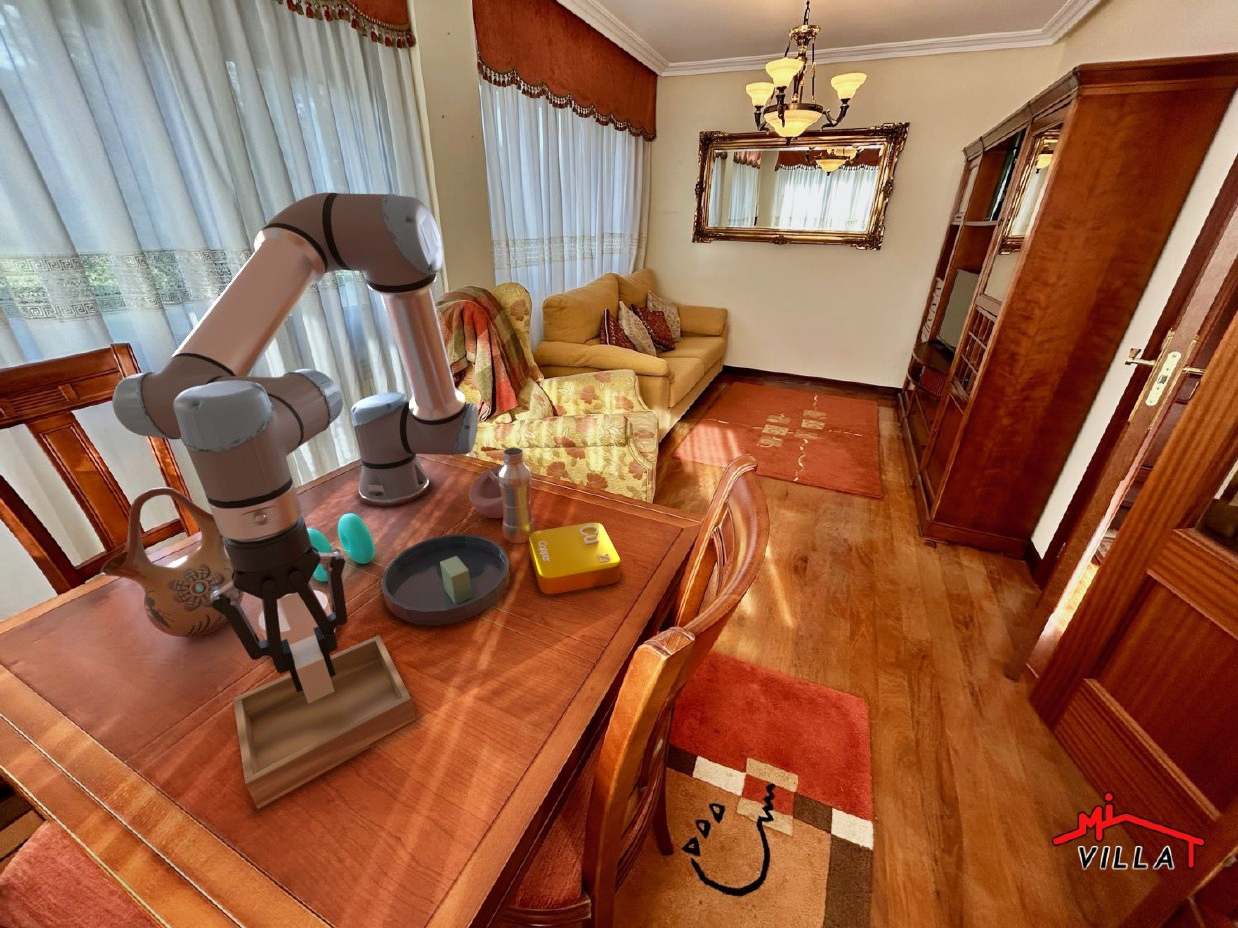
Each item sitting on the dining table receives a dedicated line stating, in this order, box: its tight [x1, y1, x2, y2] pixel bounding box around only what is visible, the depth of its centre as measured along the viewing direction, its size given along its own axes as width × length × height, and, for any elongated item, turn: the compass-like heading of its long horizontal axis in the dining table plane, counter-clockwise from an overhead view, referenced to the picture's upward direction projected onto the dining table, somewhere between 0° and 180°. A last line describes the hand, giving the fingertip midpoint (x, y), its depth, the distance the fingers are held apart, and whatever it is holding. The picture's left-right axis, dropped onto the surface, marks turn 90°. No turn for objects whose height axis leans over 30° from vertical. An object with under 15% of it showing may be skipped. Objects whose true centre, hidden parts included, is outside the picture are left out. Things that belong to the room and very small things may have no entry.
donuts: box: [307, 512, 376, 582], centre depth 91 cm, size 10×10×10 cm
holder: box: [232, 634, 417, 810], centre depth 65 cm, size 14×18×5 cm
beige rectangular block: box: [289, 635, 334, 704], centre depth 64 cm, size 5×3×6 cm, turn 39°
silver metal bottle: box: [497, 447, 536, 545], centre depth 99 cm, size 6×7×20 cm
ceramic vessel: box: [100, 487, 245, 638], centre depth 74 cm, size 16×9×25 cm, turn 153°
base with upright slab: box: [257, 589, 336, 645], centre depth 75 cm, size 9×9×12 cm
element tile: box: [528, 522, 621, 595], centre depth 95 cm, size 15×15×5 cm
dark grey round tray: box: [380, 533, 511, 626], centre depth 90 cm, size 21×22×4 cm
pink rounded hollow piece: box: [468, 464, 503, 519], centre depth 109 cm, size 12×12×12 cm
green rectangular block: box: [440, 556, 472, 604], centre depth 86 cm, size 5×3×6 cm, turn 39°
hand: (314, 676), depth 65 cm, fingers closed on beige rectangular block, 3 cm apart
